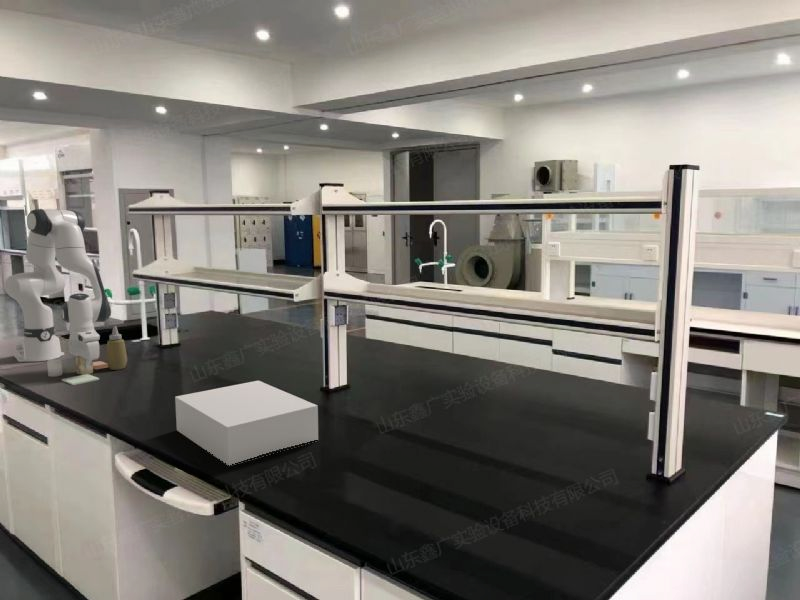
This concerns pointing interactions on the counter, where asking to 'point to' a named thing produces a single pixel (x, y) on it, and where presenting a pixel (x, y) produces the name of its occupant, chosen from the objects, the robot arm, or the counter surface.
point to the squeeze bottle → (116, 351)
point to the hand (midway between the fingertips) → (84, 367)
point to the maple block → (82, 366)
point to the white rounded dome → (54, 367)
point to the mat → (80, 379)
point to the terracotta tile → (99, 365)
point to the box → (245, 420)
